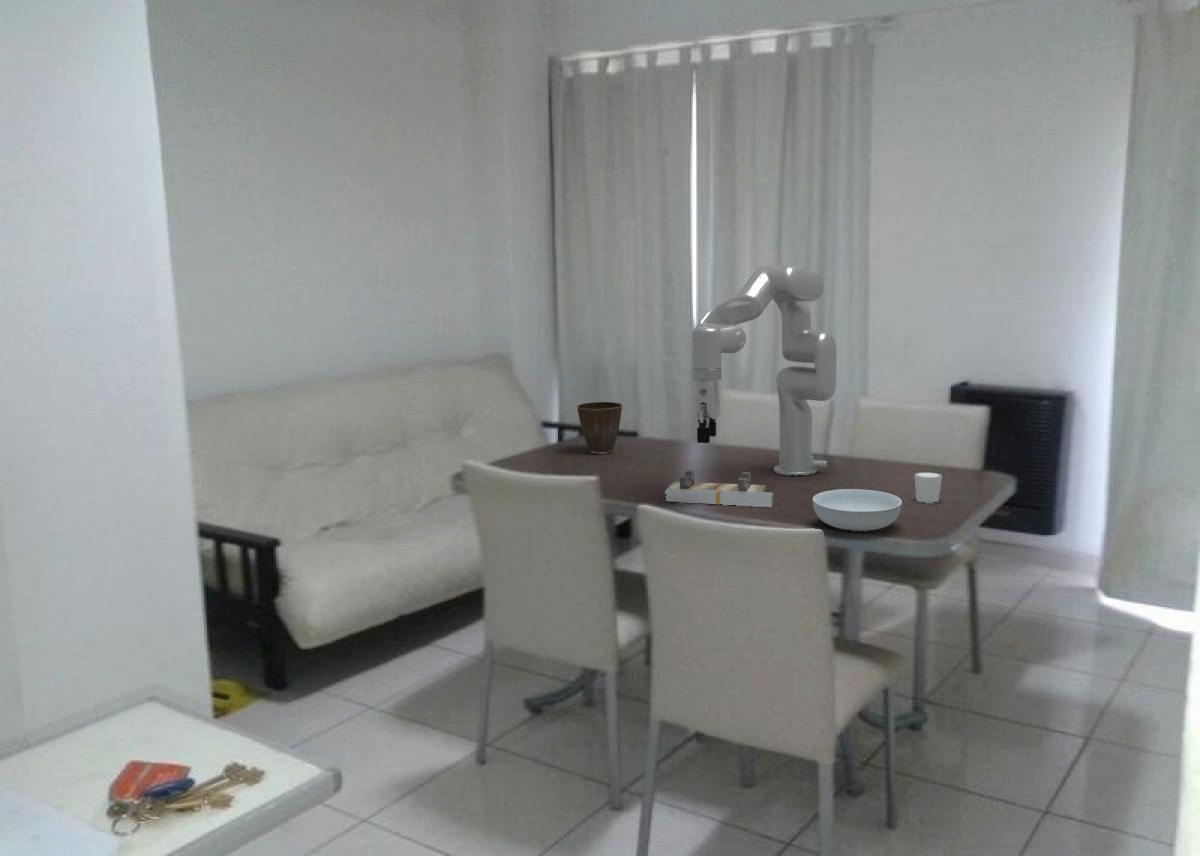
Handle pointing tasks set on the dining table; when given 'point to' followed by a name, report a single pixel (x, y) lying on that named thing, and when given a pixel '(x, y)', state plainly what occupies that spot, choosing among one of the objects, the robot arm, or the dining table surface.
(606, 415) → the plant pot
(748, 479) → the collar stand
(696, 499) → the white banded bar
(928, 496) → the white cup
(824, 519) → the serving bowl
